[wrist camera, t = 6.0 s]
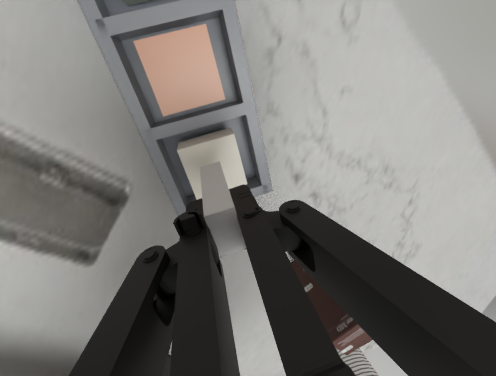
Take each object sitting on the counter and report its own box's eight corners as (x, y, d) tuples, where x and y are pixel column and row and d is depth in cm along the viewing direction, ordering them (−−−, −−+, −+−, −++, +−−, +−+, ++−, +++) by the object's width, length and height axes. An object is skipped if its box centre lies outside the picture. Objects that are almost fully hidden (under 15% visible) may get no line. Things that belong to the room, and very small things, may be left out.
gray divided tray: (181, 203, 26) (180, 220, 23) (35, -127, 14) (-9, -184, 11) (263, 177, 27) (272, 190, 24) (192, -153, 15) (191, -213, 12)
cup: (295, 336, 43) (342, 455, 30) (318, 306, 41) (381, 421, 27) (328, 338, 47) (384, 447, 33) (351, 311, 44) (423, 416, 30)
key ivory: (196, 187, 22) (196, 199, 20) (178, 142, 20) (176, 150, 18) (242, 173, 23) (247, 184, 21) (229, 127, 21) (234, 133, 18)
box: (318, 238, 33) (377, 313, 23) (332, 253, 35) (392, 328, 25) (287, 263, 34) (330, 346, 24) (303, 276, 36) (348, 358, 26)
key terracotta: (166, 111, 19) (163, 116, 17) (141, 45, 17) (133, 41, 14) (221, 96, 19) (225, 99, 17) (204, 30, 17) (205, 23, 15)
